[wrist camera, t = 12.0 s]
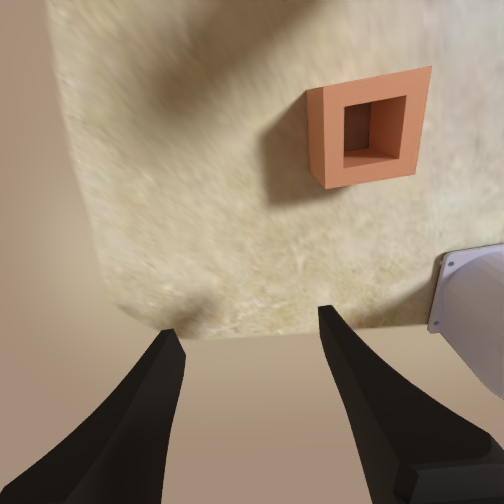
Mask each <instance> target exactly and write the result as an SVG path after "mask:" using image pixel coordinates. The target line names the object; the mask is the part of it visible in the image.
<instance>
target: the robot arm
mask: <svg viewBox="0 0 504 504" xmlns="http://www.w3.org/2000/svg"><path fill="white" fill-rule="evenodd" d="M449 262H450V263H449ZM448 263H449V264H448ZM318 316H319V330H320V338H321V342H322V345H323V349H324V353H325V356H326V359H327V362H328V365H329V367H330V370H331V372H332V375H333V377H334V380H335V383H336V385H337V388H338V390H339V393H340V396H341V398H342V401H343V403H344V406H345V409H346V412H347V415H348V418H349V422H350V425H351V429H352V432H353V435H354V439H355V442H356V446H357V449H358V453H359V456H360V460H361V463H362V467H363V471H364V474H365V478H366V482H367V485H368V489H369V493H370V496H371V500H372V503H373V504H504V450H503V449H502V447H501V446H500V445H499V444H498V443H497V442H496V441H495V439H494V438H493V437H492V436H491V435H490V434H489V433H488V432H486V431H484V430H482V429H481V428H479V427H477V426H476V425H474V424H472V423H471V422H469V421H467V420H466V419H464V418H462V417H461V416H459V415H457V414H456V413H454V412H453V411H451V410H450V409H448V408H447V407H445V406H443V405H442V404H440V403H439V402H437V401H436V400H435V399H433V398H432V397H430V396H429V395H428V394H426V393H425V392H423V391H422V390H420V389H419V388H418V387H416V386H415V385H413V384H412V383H411V382H409V381H408V380H407V379H405V378H404V377H403V376H402V375H401V374H399V373H398V372H397V371H395V370H394V369H393V368H392V367H391V366H389V365H388V364H387V363H386V362H385V361H383V359H381V358H380V357H379V356H378V355H377V354H376V353H375V352H374V351H373V350H372V349H371V348H370V347H369V346H367V345H366V343H364V341H363V340H362V339H361V338H360V337H359V336H358V335H357V334H356V333H355V332H354V331H353V330H352V329H351V328H350V327H349V325H348V324H347V323H346V322H345V321H344V320H343V318H342V317H341V316H340V315H339V314H338V312H337V311H336V310H335V308H334V307H333V306H332V305H326V306H320V307H318ZM427 330H428V331H429V332H430V333H441V335H442V336H443V337H444V338H445V339H446V341H447V342H448V343H449V344H450V345H451V346H452V348H453V349H454V350H455V351H456V352H457V354H458V355H459V356H460V357H461V358H462V360H463V361H464V362H465V363H466V364H467V366H468V367H469V368H470V369H471V370H472V371H473V373H474V374H475V375H476V376H477V377H478V378H479V380H480V381H481V382H482V383H483V384H484V385H485V386H486V387H487V388H488V389H489V390H490V391H491V392H493V393H494V394H495V395H497V396H498V397H500V398H501V399H503V400H504V243H503V244H497V245H491V246H485V247H478V248H472V249H466V250H460V251H454V252H449V253H447V254H445V256H444V257H443V261H442V266H441V270H440V274H439V279H438V283H437V288H436V292H435V296H434V301H433V305H432V310H431V314H430V318H429V323H428V327H427ZM185 360H186V355H185V352H184V350H183V348H182V346H181V344H180V342H179V340H178V338H177V336H176V333H175V331H174V329H167V330H161V332H160V333H159V335H158V336H157V337H156V338H155V340H154V341H153V342H152V344H151V345H150V346H149V348H148V349H147V350H146V351H145V353H144V354H143V356H142V357H141V358H140V359H139V361H138V362H137V363H136V364H135V366H134V367H133V368H132V369H131V371H130V372H129V373H128V374H127V376H126V377H125V378H124V379H123V380H122V381H121V383H120V384H119V385H118V386H117V387H116V389H115V390H114V391H113V392H112V393H111V394H110V395H109V396H108V397H107V398H106V399H105V400H104V402H103V403H102V404H101V405H100V406H99V407H98V408H97V409H96V410H95V411H94V412H93V413H92V414H91V415H90V416H89V417H88V418H87V419H85V421H83V422H82V423H81V424H80V425H79V426H78V427H77V428H76V429H75V430H74V431H73V432H72V433H71V434H69V435H68V436H67V437H66V438H65V439H64V440H63V441H61V442H60V443H59V444H58V445H57V446H56V447H54V449H52V450H51V451H50V452H48V453H47V455H45V456H44V457H42V459H40V460H39V461H37V462H36V463H35V464H34V465H32V466H31V467H30V468H28V469H27V470H26V471H25V472H23V473H22V474H21V475H19V476H18V477H17V478H15V479H14V480H13V481H12V482H10V483H9V484H8V485H6V486H5V487H4V488H3V490H2V491H1V493H0V504H161V498H162V489H163V480H164V472H165V465H166V456H167V450H168V444H169V437H170V431H171V427H172V422H173V418H174V414H175V410H176V406H177V401H178V397H179V394H180V389H181V385H182V381H183V376H184V368H185Z"/></svg>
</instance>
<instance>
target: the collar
mask: <svg viewBox="0 0 504 504" xmlns="http://www.w3.org/2000/svg"><path fill="white" fill-rule="evenodd" d="M431 69H432V66H429V67H423V68H418V69H413V70H408V71H403V72H397V73H392V74H387V75H382V76H377V77H371V78H366V79H361V80H356V81H351V82H345V83H340V84H335V85H330V86H325V87H320V88H315V89H310V90H306V98H307V119H308V139H309V159H310V173H311V174H312V175H313V176H314V177H315V179H316V180H317V181H318V182H319V183H320V184H321V185H322V186H323V187H324V188H325V189H330V188H336V187H342V186H348V185H354V184H360V183H366V182H372V181H378V180H384V179H390V178H396V177H402V176H408V175H414V174H415V173H416V166H417V160H418V153H419V147H420V140H421V134H422V127H423V121H424V114H425V108H426V101H427V95H428V88H429V82H430V75H431ZM367 102H371V117H370V133H369V148H364V149H359V150H353V151H347V152H344V107H345V106H351V105H356V104H361V103H367Z"/></svg>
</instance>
